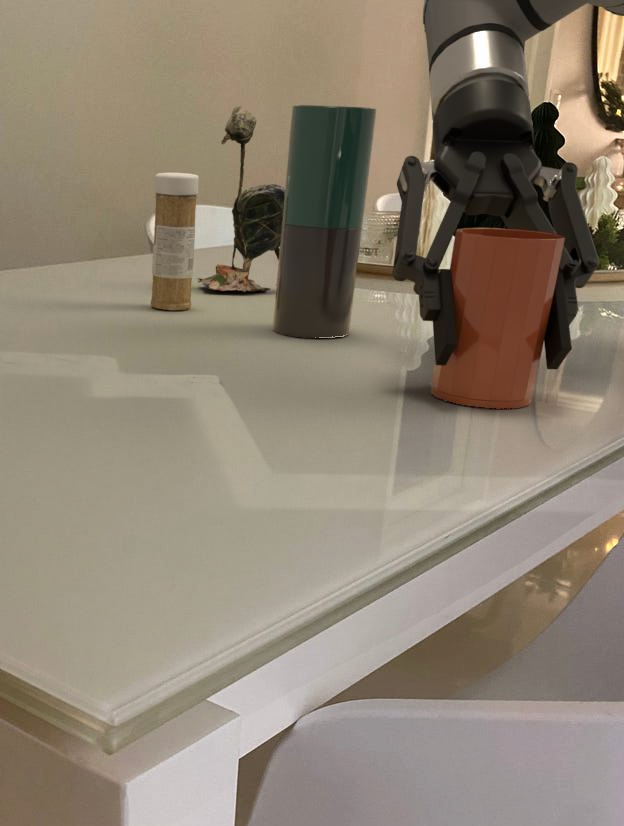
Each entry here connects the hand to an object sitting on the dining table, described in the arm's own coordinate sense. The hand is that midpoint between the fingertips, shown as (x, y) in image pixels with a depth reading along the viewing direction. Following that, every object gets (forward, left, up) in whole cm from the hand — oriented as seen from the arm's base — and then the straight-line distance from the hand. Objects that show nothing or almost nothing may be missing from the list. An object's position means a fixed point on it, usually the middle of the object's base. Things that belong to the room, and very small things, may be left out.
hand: (502, 356), depth 77 cm
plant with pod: (+11, -55, -4) cm, 57 cm away
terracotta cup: (0, -3, -4) cm, 5 cm away
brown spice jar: (+21, -41, -4) cm, 46 cm away
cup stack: (+8, -29, -4) cm, 31 cm away
